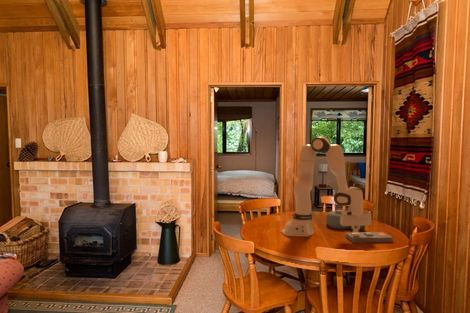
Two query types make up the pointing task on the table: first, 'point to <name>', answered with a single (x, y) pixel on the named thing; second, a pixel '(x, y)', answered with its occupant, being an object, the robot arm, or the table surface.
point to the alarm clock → (335, 220)
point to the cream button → (355, 234)
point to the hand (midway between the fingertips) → (355, 232)
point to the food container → (359, 228)
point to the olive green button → (368, 234)
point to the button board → (369, 237)
